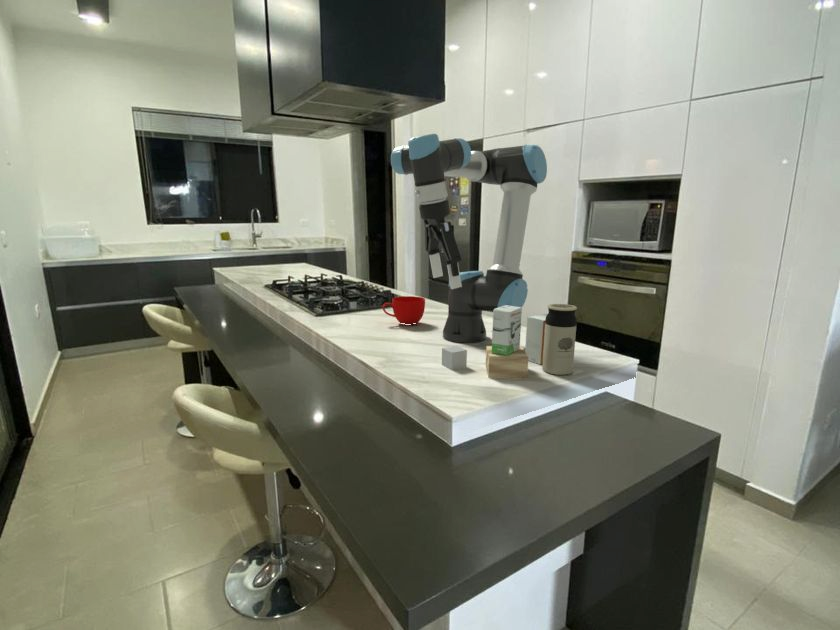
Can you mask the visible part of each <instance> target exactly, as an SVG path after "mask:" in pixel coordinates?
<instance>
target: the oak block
mask: <svg viewBox="0 0 840 630" xmlns="http://www.w3.org/2000/svg"><path fill="white" fill-rule="evenodd" d="M485 368H486V369H485V370H486V373H487V377H488V378H492V379H495V378H496V379H499V378H500V379H523V378H527V379H528V371H529V360H528V356H527V354H526V352H525V348H524V347H523V346H520V349H518V350H516V351H515V352H513V353H511V354H510V355H508V356H507V355H502V354H496V353H492V345H486V346H485Z"/></svg>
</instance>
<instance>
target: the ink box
mask: <svg viewBox="0 0 840 630" xmlns="http://www.w3.org/2000/svg"><path fill="white" fill-rule="evenodd" d="M522 311H523V307H516V306H509V305H505V306H501V307H498V308H495V309H494V310H493V312H492V313H493V314H492V330H491V331H492V333H491V346H492V353H496V354H502V355H507V356H508V355H510V354H511V353H513V352H515V351H516V350H518V349H520V347H521V331H522V330H521V329H522Z"/></svg>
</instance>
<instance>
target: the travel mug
mask: <svg viewBox="0 0 840 630" xmlns="http://www.w3.org/2000/svg"><path fill="white" fill-rule="evenodd" d="M547 309H548V313H546V314H547V316H546V320H545V335H544V351H543V364H542V366H541V368H542V369H541V370H542V371H544V372H545V373H548V374H551V375H554V374H555V375H556V376H568V375H570V374H572V373H574V360H575V348H576V336H577V335H576V332H577V325H578V319H577V316H576V310H577V309H578V307H577V306H576V305H572V304H566V303H550V304H547ZM567 374H568V375H567Z"/></svg>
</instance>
